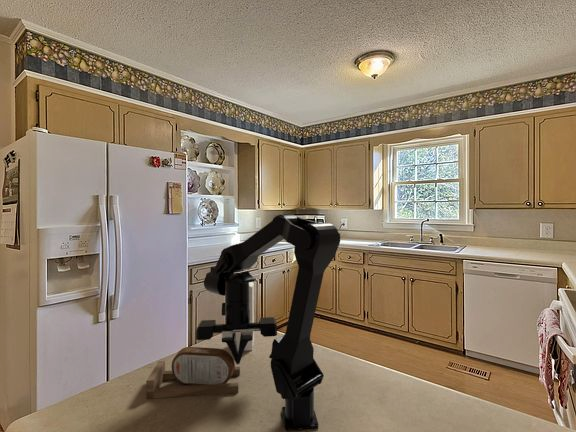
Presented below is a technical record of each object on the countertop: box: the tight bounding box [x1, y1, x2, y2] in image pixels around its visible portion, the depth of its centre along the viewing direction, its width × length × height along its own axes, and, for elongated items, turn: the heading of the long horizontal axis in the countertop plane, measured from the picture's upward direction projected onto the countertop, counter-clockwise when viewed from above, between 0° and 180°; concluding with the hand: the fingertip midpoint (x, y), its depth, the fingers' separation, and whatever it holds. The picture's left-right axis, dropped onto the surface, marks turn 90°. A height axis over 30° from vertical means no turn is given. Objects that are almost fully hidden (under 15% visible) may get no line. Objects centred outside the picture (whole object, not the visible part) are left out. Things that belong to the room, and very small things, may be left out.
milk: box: [236, 282, 255, 352], centre depth 95 cm, size 6×6×22 cm
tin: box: [171, 346, 236, 386], centre depth 75 cm, size 15×3×8 cm, turn 83°
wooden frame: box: [145, 360, 241, 400], centre depth 74 cm, size 9×20×4 cm, turn 96°
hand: (238, 363), depth 75 cm, fingers closed
